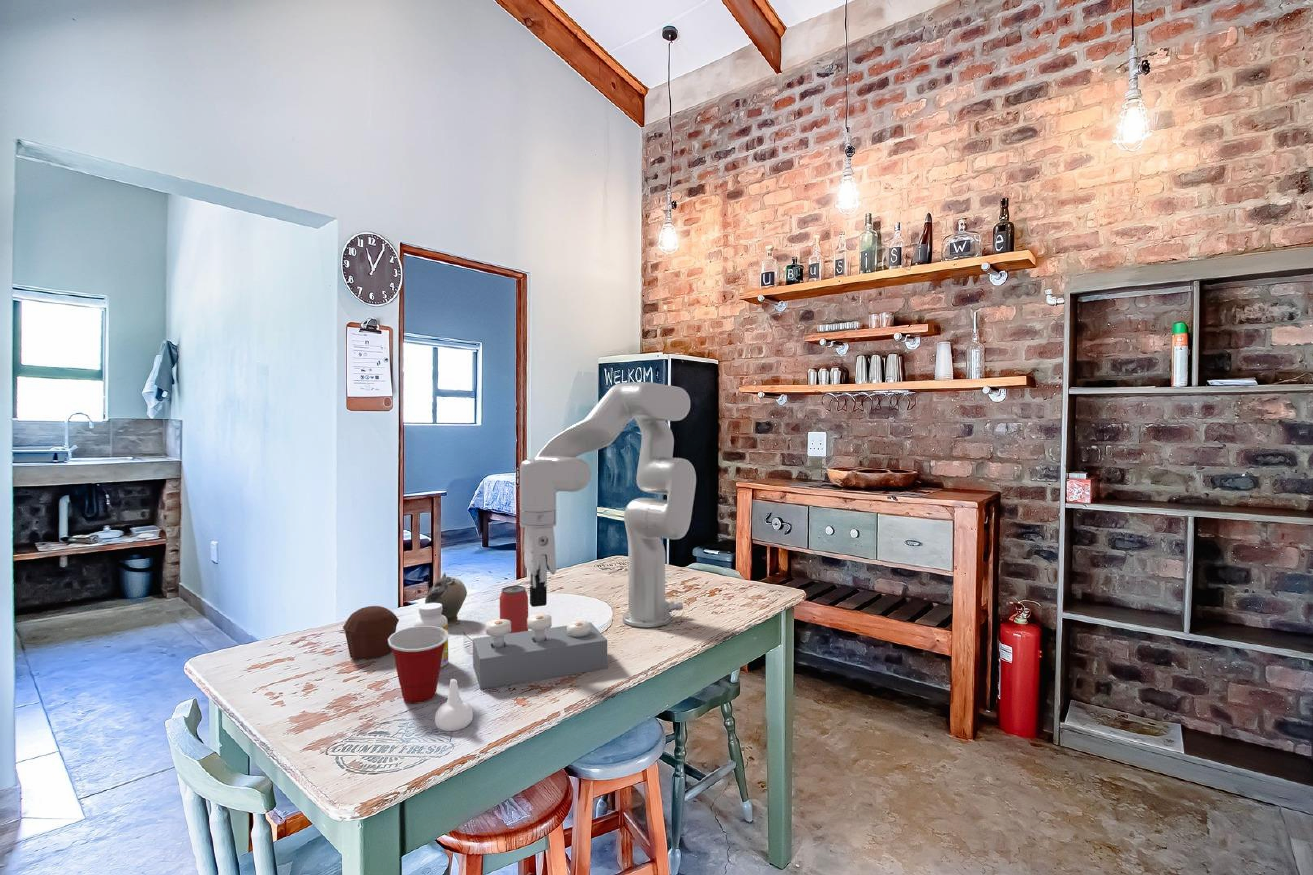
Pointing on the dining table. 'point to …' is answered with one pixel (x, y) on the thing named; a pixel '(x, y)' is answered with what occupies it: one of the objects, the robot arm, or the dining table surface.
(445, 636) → the plastic cup
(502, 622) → the knob
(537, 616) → the knob middle
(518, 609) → the beer can
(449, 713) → the garlic bulb
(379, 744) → the dining table surface
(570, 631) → the knob
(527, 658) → the console
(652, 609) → the robot arm
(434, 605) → the supplement bottle
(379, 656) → the muffin
